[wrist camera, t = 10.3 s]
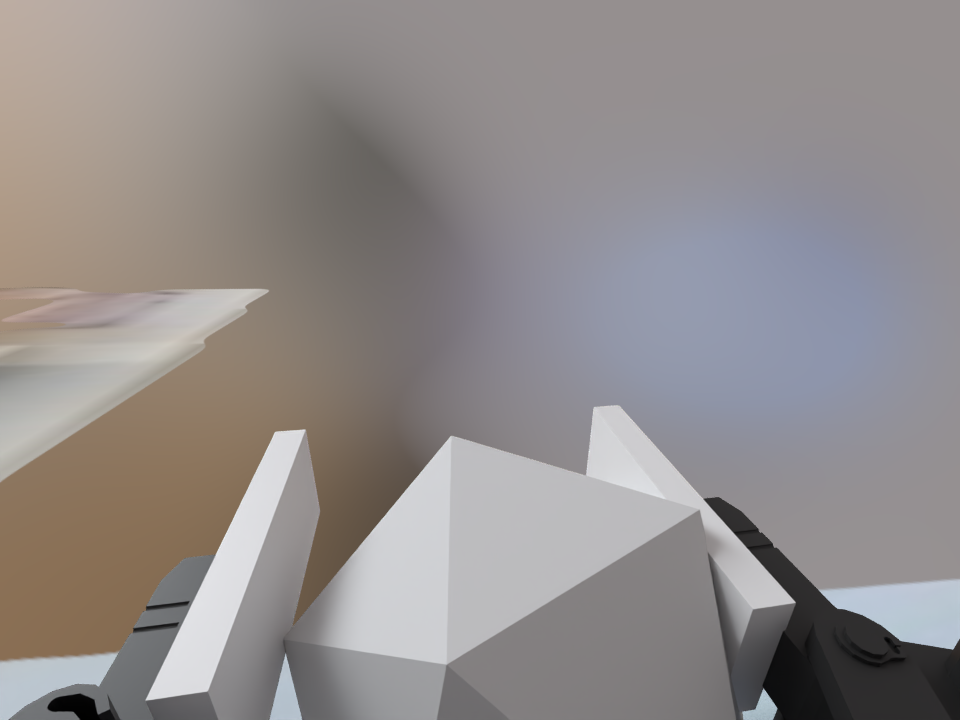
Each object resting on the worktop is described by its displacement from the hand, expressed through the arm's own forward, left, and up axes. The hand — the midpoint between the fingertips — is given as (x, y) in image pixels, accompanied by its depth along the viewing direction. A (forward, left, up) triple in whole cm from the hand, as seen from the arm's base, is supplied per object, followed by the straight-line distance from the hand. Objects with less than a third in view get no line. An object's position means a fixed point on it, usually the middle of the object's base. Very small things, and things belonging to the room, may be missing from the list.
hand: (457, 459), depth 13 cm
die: (+5, -1, -6) cm, 8 cm away
